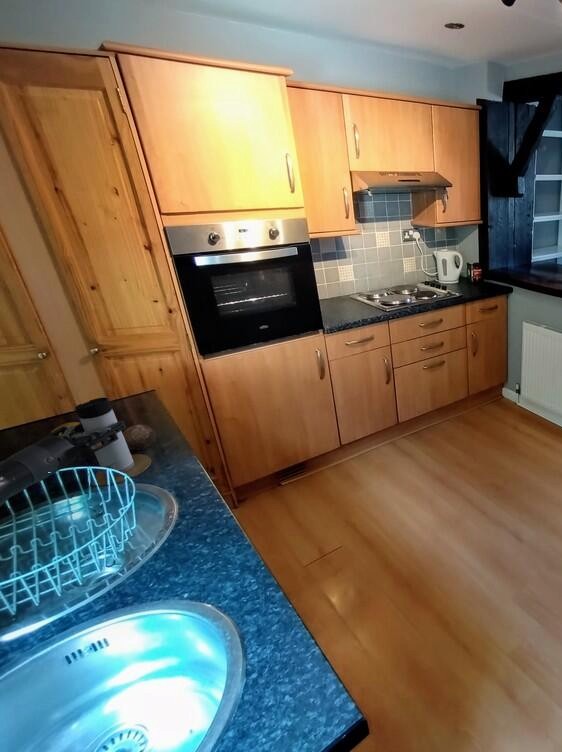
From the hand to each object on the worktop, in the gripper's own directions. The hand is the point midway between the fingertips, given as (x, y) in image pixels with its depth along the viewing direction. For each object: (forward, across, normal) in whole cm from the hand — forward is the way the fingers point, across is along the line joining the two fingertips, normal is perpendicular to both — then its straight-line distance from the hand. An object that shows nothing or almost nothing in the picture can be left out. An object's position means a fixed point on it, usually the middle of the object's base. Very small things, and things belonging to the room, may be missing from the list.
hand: (108, 422), depth 113 cm
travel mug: (-2, 0, -13) cm, 13 cm away
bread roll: (+10, -28, -13) cm, 33 cm away
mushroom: (+9, -4, -13) cm, 17 cm away
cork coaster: (-2, 0, -13) cm, 13 cm away
